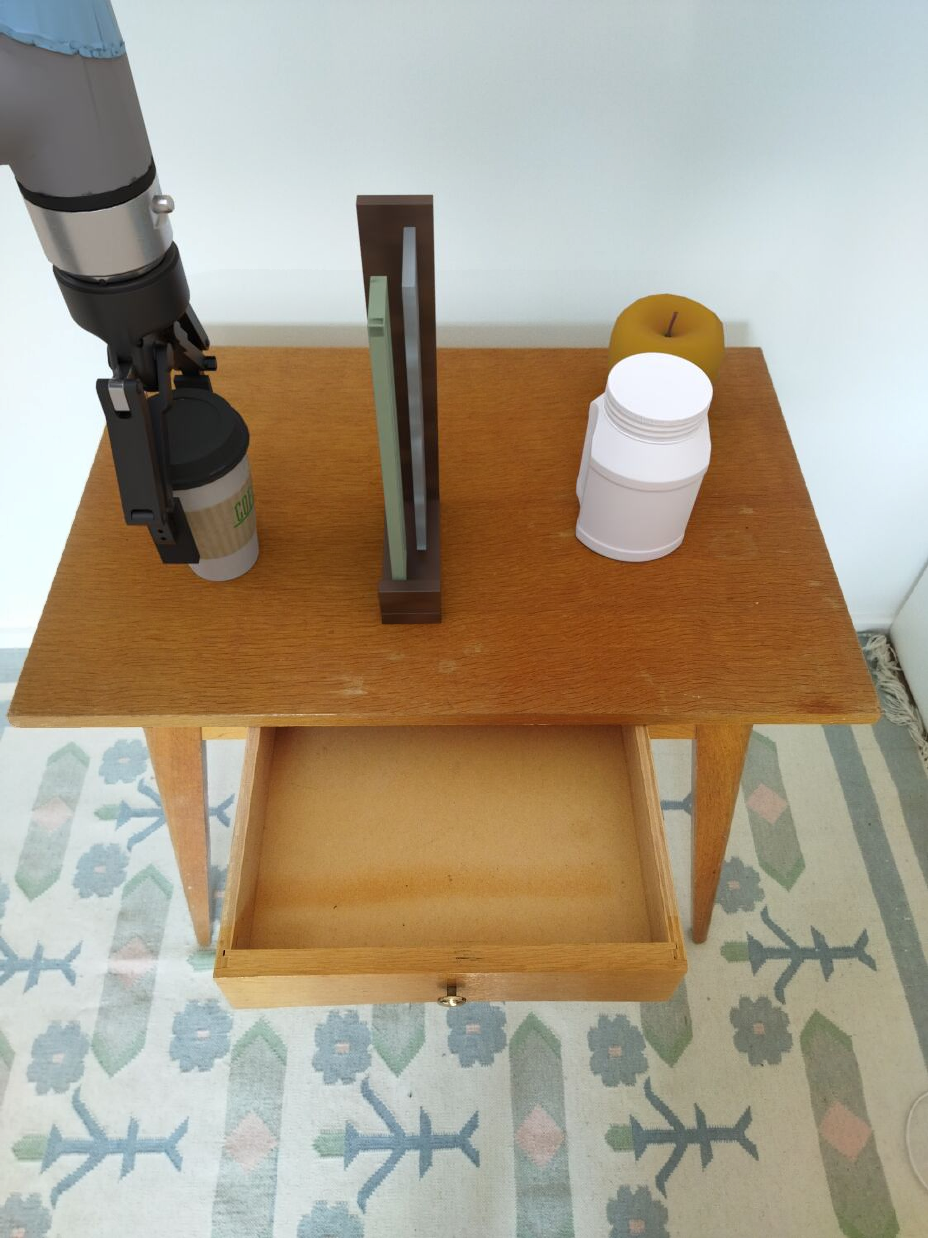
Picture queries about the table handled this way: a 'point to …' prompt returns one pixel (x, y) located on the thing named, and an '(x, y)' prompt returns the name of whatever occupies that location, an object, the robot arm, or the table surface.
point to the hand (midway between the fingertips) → (196, 496)
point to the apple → (669, 332)
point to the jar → (644, 457)
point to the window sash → (387, 421)
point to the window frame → (409, 391)
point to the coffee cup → (213, 481)
